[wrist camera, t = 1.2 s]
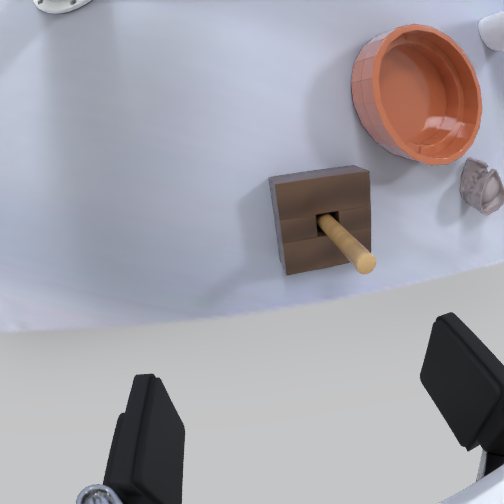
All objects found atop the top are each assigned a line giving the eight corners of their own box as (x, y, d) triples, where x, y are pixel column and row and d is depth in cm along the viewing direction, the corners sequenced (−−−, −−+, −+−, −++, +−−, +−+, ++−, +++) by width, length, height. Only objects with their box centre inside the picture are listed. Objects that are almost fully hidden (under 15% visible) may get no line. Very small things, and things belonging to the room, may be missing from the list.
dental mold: (450, 174, 36) (472, 182, 32) (476, 150, 35) (499, 156, 31) (465, 216, 39) (485, 227, 35) (489, 192, 38) (510, 201, 34)
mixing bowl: (338, 29, 28) (360, 16, 22) (444, 42, 28) (472, 37, 23) (357, 161, 35) (380, 170, 29) (456, 154, 35) (484, 162, 30)
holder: (268, 177, 35) (274, 184, 31) (354, 165, 35) (369, 171, 31) (280, 260, 39) (286, 275, 35) (358, 245, 39) (371, 258, 36)
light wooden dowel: (309, 207, 37) (356, 256, 24) (323, 205, 37) (376, 252, 24) (311, 221, 37) (356, 276, 25) (325, 219, 37) (375, 271, 25)
